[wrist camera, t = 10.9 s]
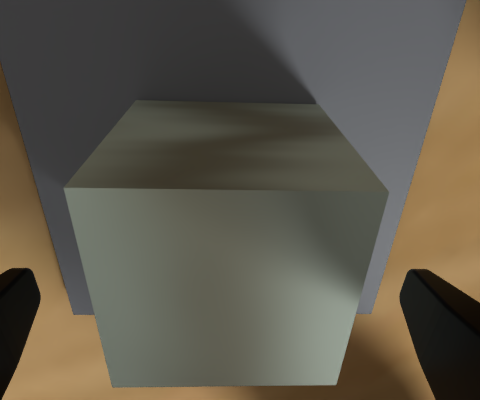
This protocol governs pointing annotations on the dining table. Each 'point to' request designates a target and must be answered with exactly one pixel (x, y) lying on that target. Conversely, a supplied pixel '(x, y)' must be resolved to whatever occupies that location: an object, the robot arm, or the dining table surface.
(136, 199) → the sage block
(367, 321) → the dining table surface
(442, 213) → the dining table surface
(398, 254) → the dining table surface
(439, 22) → the gray board
